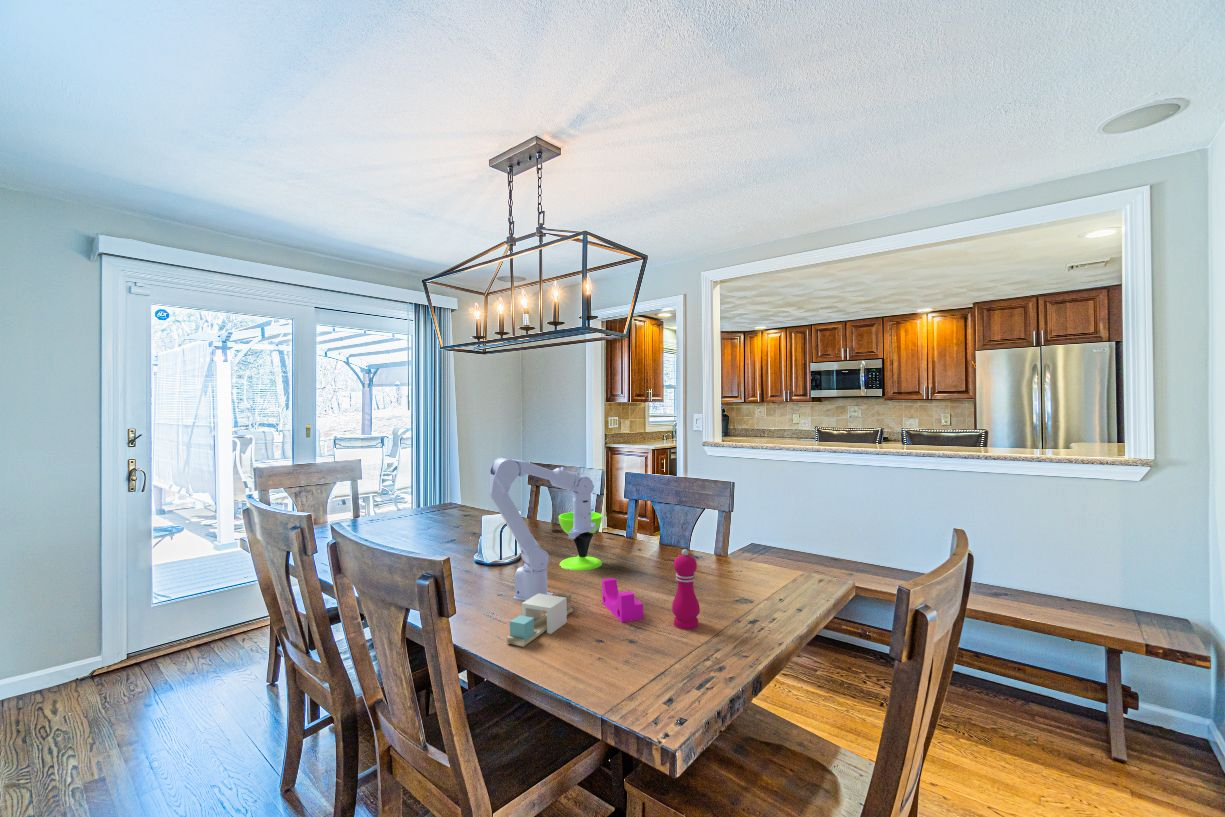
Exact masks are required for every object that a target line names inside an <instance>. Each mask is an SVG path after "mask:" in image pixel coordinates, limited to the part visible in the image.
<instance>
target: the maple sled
mask: <svg viewBox="0 0 1225 817" xmlns="http://www.w3.org/2000/svg"><path fill="white" fill-rule="evenodd" d="M554 596H559V597H565V598H566V600H567V616H569V615H570V614H571V613H572V612H573V608H572V602H571V601H572V600H571V598H572V596H571V593H565V592H559V591H558V592H557V593H554ZM544 632H547V612H546V613H545V614H543V616H542V617H540V618H539V619H537V620H536V621H534V635H533V636H532V637H530V638H529V639H527V640H526V641H525V639H520V638H515V637H510V635H507V636H506V644H509V645H514V646H518V647H525V646H527V645H528V644H530V643H531V642H532V641H533V640H535V639H536V638H538V637H539V636H540V635H542V634H543V633H544Z"/></svg>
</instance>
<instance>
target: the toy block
mask: <svg viewBox="0 0 1225 817" xmlns="http://www.w3.org/2000/svg"><path fill="white" fill-rule="evenodd" d="M617 583H618V582H617V579H616V578H615V577H608V578H602V579H601V594H602V595H601V596H602V597H601V598H602V599H601V601H602V605H603V606H604V607H606V608H607V610H608V611H609V612H610V613H612V615H613V616H614V617H616V618H617V619H618V621H620V622H621V623H625V622H633V621H637V620H644V603H643V602H641V601H640V600H639V599H637V598H635V593H634V592H632V591H631V590H627V591H620V592H619V588H618V584H617Z"/></svg>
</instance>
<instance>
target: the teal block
mask: <svg viewBox="0 0 1225 817" xmlns="http://www.w3.org/2000/svg"><path fill="white" fill-rule="evenodd" d="M533 635H534V618H532V617H527V616H522V614H518V616H516V617H515V618H513V619H511V620H509V636H510V637H515V638H520V639H525V641H526V640H527V639H529V638H530V637H532V636H533Z"/></svg>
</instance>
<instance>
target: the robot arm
mask: <svg viewBox="0 0 1225 817" xmlns="http://www.w3.org/2000/svg"><path fill="white" fill-rule="evenodd" d="M526 475H530V476H534V477H537V478H540V479H544V480H548V481H549V482H550V485H551V486H553V487H556V488H560V489H563V490H566V491H568V492H572V512H573V528H572V530H571V531H570V532H568V534H567V535H568V540H569V539H571V540H573V542H574V544H575V546H576V551H577V555H578V554H579V557H588V552H589V549H590V544H591V541H592V539H593V537H594V533H589V531H594V530H595V529H596V523H591V512H592V493H593V491H594V488H595V484H594V482H593V480H592V479H591V478H590V477H588V476H585V475H581V474H580V472H578V471H577V472H573V471H569V470H567V467H563V466H561V467H557V468H555V469H552V470H551V469H548V468H546V467H542V466H540V465H537V464H535V463H533V462H528V461H526V460H522V459H521V460H520V459H515V458H510V459H509V458H507V457H504V456H501V457H498V458H496V459H495V460H494V461H493V462H492V463H491V466H490V468H489V496H490V498H491V500H492V501H493V503H494V505H495V506H496V508H497V509H498V512H499V514H500V515H501V517H502V519H503V520H504V522H505V523H506V526H507V527H508V529H509V530H510V532H511V534H512V535H513V537H514V539H515V540H516V543H517V544H518V548H519V549H520V555H521V557H520V558H521V559H522V560H523V562H524V563H523V566H519V567H518V568H517V569H516V571H515V574H514V596H513V598H512V599H514V600H519V601H523V602H524V601H526V600H528V599H530V598H531V597H533V596H535V595H536V594H538V593H540V594H546V595H553V596H554V593H553V592H550V591H549V592H548V565H549V563H550V555H549V553H548V552H547V551H546V550H544V549H543V548H542V547H541V546H540V544H539V542H537V540H536V539H535V537H534V536H533V534H532V532H531V530H530V529H529V527H528V525H527V523H526V522H525V521H524V519H523V517H522V514H521V513H520V512H519V510H518V508H517V507H516V504H515V503H514V501H513V500H512V497H511V496H510V495H509V492H510V489H511V486H512V484H513V483H514V482H515V480H516V479H517V478H518V477H524V476H526Z"/></svg>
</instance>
